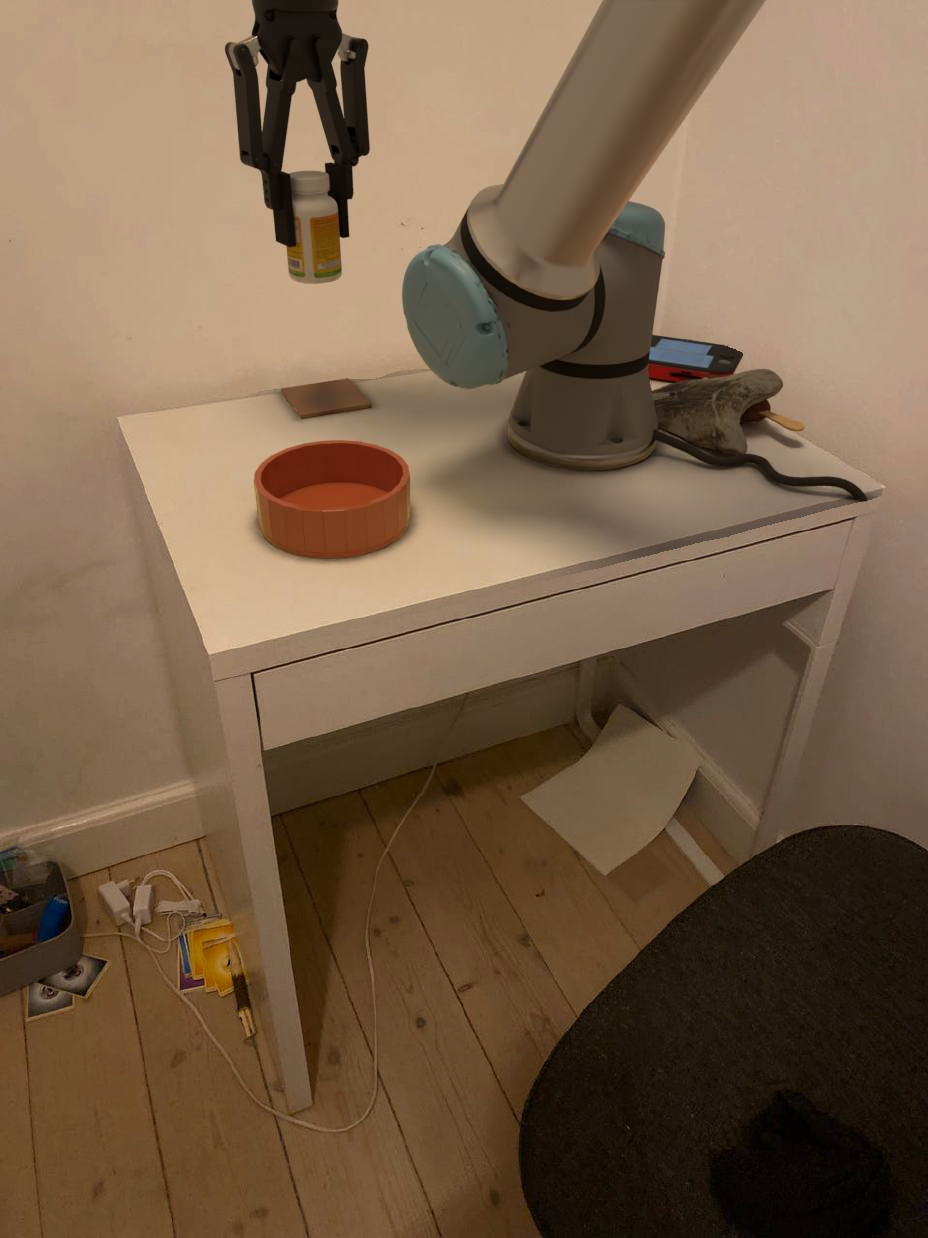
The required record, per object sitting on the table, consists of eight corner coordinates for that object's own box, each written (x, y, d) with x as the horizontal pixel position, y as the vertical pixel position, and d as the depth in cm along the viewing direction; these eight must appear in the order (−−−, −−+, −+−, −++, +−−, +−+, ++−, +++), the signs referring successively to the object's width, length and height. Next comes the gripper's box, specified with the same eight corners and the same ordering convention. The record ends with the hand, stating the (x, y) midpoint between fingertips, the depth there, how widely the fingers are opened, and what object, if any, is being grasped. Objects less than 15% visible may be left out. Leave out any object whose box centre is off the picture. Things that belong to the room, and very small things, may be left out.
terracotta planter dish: (434, 500, 87) (434, 455, 84) (367, 572, 77) (365, 524, 74) (308, 473, 91) (304, 429, 88) (229, 538, 81) (222, 491, 79)
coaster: (348, 381, 110) (348, 377, 110) (372, 407, 104) (371, 403, 104) (281, 391, 107) (280, 388, 107) (301, 418, 101) (300, 415, 101)
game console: (744, 356, 118) (748, 339, 117) (728, 394, 109) (731, 375, 108) (631, 339, 123) (633, 321, 121) (605, 373, 113) (608, 355, 112)
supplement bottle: (346, 270, 99) (341, 169, 94) (336, 285, 95) (329, 180, 89) (296, 268, 100) (287, 167, 94) (283, 283, 95) (273, 178, 90)
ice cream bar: (772, 452, 96) (679, 400, 107) (811, 443, 98) (715, 393, 109) (779, 421, 94) (683, 372, 105) (818, 414, 96) (721, 365, 107)
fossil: (644, 347, 104) (776, 349, 95) (659, 374, 108) (787, 379, 98) (604, 431, 101) (736, 442, 92) (620, 456, 105) (748, 469, 95)
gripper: (359, -45, 89) (370, 218, 102) (172, -46, 79) (211, 244, 93) (405, -43, 84) (410, 233, 97) (211, -43, 75) (246, 262, 88)
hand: (313, 238), depth 95 cm, fingers closed on supplement bottle, 5 cm apart
